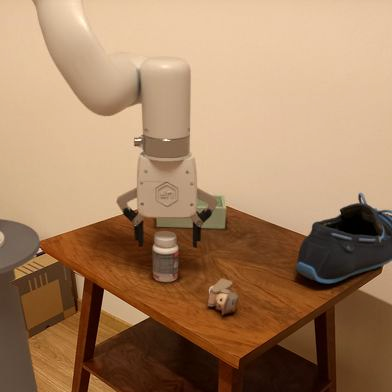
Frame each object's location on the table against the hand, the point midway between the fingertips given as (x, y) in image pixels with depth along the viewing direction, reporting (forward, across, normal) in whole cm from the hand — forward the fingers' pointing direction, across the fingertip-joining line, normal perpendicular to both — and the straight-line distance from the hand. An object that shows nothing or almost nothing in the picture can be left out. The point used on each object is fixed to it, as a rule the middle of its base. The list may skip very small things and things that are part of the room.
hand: (168, 244), depth 92 cm
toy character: (+5, +6, -9) cm, 12 cm away
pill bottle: (+7, -1, 0) cm, 7 cm away
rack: (+7, +4, +27) cm, 28 cm away
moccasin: (+7, +36, +9) cm, 38 cm away
